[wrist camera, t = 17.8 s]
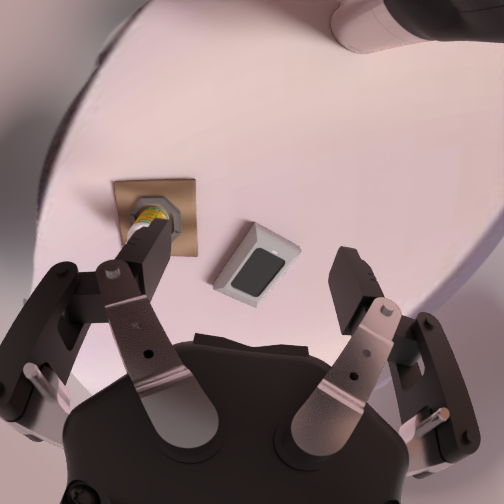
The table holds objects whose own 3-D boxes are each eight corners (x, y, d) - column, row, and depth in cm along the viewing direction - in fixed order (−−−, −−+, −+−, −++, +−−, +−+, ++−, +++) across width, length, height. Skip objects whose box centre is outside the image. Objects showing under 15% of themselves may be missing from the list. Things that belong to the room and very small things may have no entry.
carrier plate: (116, 181, 41) (111, 185, 40) (195, 179, 42) (193, 182, 41) (127, 251, 49) (123, 257, 47) (198, 253, 50) (196, 259, 48)
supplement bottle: (164, 202, 43) (147, 229, 35) (174, 230, 46) (161, 262, 38) (136, 209, 43) (115, 237, 35) (146, 237, 46) (129, 268, 38)
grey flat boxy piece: (212, 293, 50) (256, 230, 44) (214, 281, 54) (255, 220, 47) (256, 312, 53) (303, 256, 47) (255, 299, 56) (299, 245, 50)
